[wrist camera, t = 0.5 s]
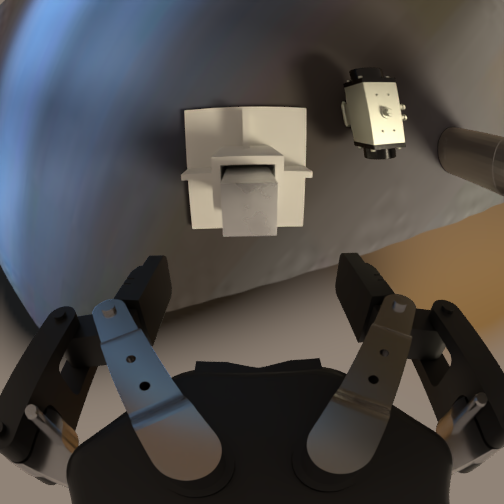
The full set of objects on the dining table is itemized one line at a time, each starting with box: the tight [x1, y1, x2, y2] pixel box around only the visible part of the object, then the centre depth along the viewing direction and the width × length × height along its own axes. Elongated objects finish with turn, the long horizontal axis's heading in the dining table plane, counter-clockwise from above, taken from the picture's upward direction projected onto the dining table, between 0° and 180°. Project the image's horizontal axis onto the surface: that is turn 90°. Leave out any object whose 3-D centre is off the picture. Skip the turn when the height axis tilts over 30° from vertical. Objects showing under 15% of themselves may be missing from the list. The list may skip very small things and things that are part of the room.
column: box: [220, 164, 278, 237], centre depth 28 cm, size 4×4×20 cm
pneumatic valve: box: [341, 68, 407, 159], centre depth 30 cm, size 6×12×12 cm, turn 12°
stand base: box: [181, 107, 312, 229], centre depth 31 cm, size 17×18×16 cm
